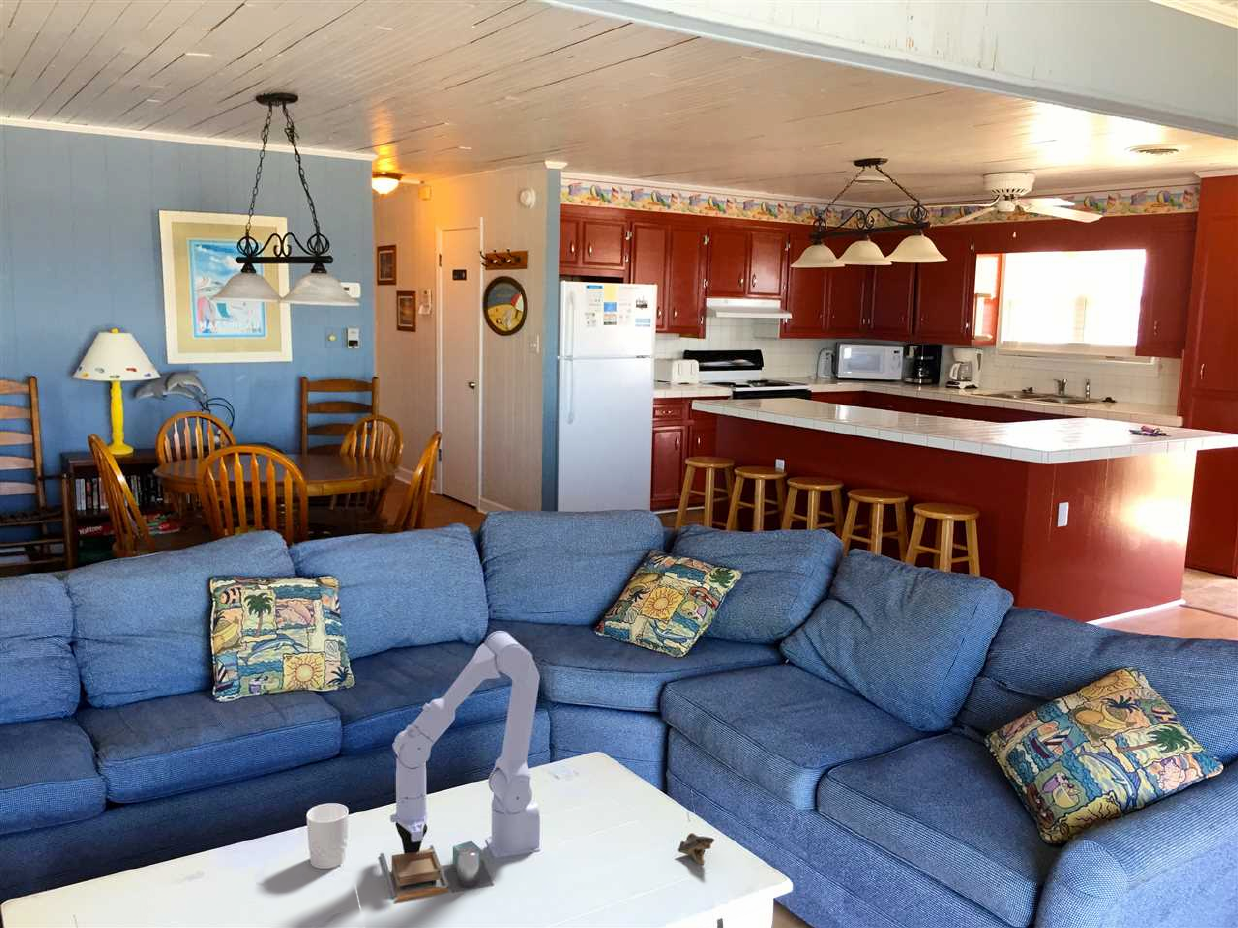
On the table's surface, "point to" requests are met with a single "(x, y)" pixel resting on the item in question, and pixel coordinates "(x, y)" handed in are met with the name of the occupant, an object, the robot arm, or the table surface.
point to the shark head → (695, 847)
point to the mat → (452, 880)
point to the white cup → (327, 835)
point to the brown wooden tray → (415, 868)
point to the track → (420, 892)
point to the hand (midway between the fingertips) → (411, 858)
